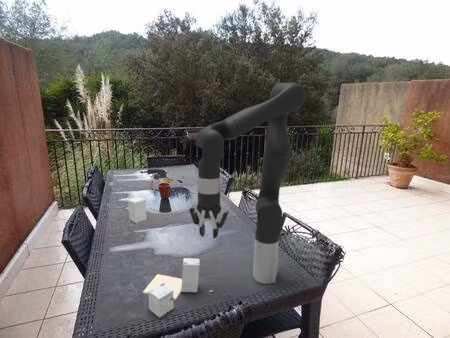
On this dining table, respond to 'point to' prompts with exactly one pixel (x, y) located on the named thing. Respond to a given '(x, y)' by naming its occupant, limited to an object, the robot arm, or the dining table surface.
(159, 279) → the mat
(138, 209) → the supplement box
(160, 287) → the skincare box
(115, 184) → the dining table surface
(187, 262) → the skincare box
